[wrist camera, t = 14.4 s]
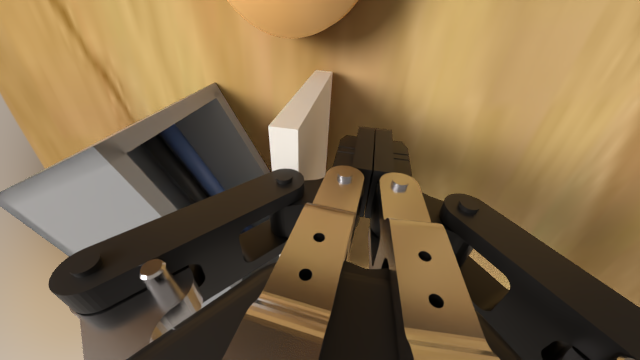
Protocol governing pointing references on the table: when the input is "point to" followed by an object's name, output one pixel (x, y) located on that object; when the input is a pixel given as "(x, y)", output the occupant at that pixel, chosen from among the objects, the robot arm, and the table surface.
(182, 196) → the box
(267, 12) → the tan donut
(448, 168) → the table surface
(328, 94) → the cover
